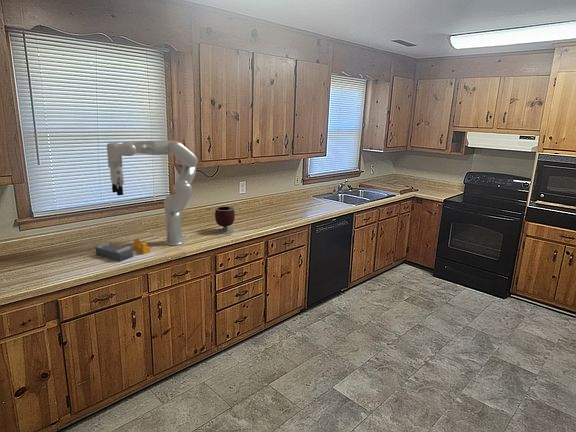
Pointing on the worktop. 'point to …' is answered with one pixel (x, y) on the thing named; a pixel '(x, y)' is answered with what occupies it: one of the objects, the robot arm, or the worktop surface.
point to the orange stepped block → (141, 246)
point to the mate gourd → (225, 218)
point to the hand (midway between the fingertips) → (117, 193)
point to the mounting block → (114, 251)
